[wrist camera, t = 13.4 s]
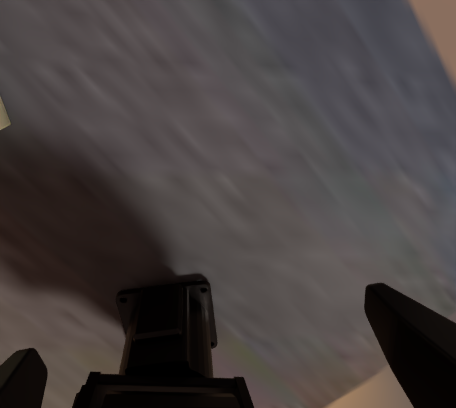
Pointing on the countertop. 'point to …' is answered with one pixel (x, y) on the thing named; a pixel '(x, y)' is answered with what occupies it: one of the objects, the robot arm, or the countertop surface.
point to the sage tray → (3, 116)
